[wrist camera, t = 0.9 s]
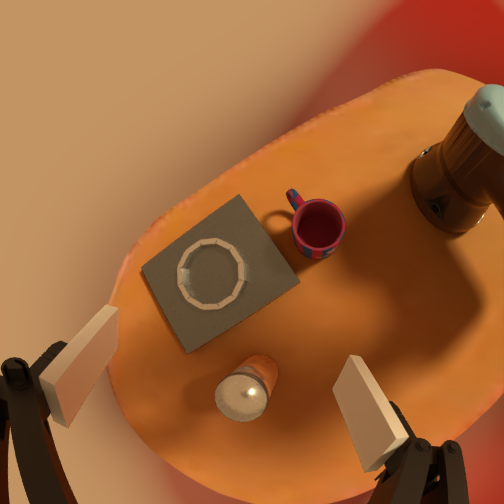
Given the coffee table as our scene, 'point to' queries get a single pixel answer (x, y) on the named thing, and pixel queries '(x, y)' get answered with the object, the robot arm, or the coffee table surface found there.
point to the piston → (247, 389)
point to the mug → (316, 225)
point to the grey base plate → (218, 274)
